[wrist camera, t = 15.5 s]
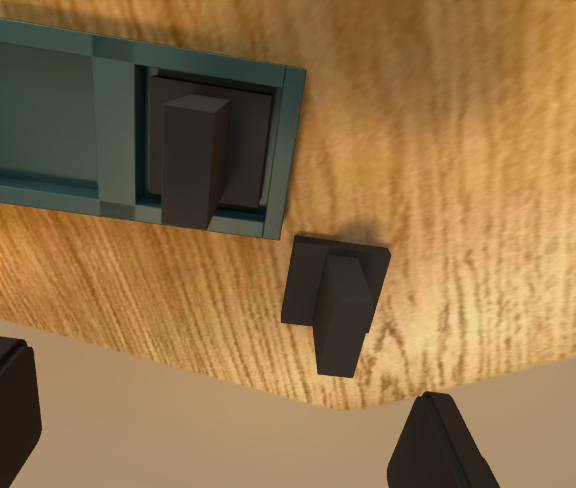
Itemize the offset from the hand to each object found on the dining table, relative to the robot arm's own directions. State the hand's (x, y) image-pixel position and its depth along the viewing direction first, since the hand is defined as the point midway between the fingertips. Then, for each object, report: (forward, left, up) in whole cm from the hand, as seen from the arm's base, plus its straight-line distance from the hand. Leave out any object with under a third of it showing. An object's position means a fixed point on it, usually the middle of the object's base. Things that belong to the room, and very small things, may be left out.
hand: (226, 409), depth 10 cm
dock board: (+8, -3, -16) cm, 18 cm away
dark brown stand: (+3, -3, -15) cm, 15 cm away
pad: (-5, +5, -16) cm, 17 cm away
